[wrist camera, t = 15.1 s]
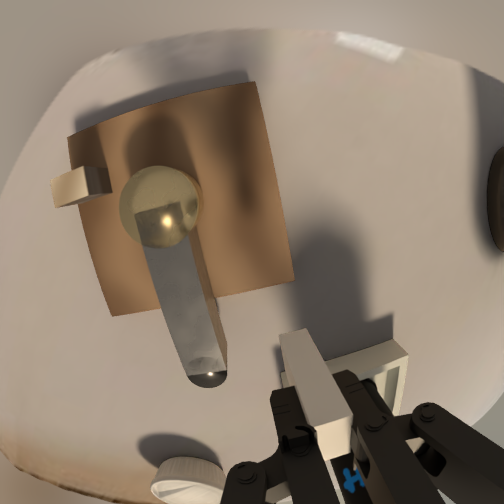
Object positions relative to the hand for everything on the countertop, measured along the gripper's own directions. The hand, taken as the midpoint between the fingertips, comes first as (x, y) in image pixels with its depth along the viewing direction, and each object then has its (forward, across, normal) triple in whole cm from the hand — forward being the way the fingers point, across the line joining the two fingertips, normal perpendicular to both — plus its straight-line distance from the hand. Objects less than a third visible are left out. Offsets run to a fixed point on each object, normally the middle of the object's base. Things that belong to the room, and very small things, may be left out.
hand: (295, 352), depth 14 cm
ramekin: (+11, +16, +27) cm, 33 cm away
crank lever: (+8, +6, -3) cm, 11 cm away
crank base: (+10, +6, -9) cm, 15 cm away
